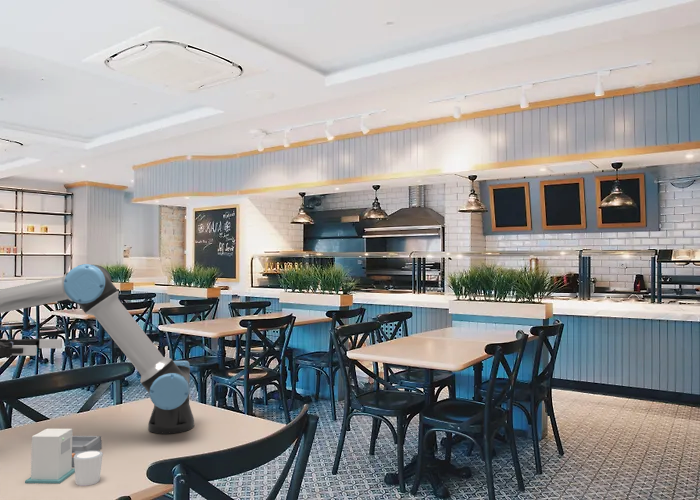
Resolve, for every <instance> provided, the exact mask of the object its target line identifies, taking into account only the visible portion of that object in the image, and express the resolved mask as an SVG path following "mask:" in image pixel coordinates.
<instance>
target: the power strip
mask: <svg viewBox="0 0 700 500" xmlns="http://www.w3.org/2000/svg"><path fill="white" fill-rule="evenodd" d="M102 443H103V442H102V436H101V435H72V468H75V467H74V456H75V455H76V454H78V453H81V452H85V451H93V450H94V451H101V449H102V447H103V446H102Z"/></svg>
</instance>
